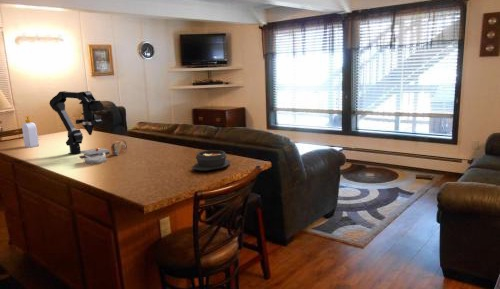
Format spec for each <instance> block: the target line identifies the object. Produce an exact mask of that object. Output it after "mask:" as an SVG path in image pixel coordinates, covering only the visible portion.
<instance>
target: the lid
mask: <svg viewBox="0 0 500 289" xmlns="http://www.w3.org/2000/svg"><path fill="white" fill-rule="evenodd" d="M102 152H110V150H109V148H102V147H97V148H94V149H93V148H91V149H85V150H81V153H80V154H83V155H84V154H87V155H91V154H96V153H102Z"/></svg>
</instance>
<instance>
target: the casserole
mask: <svg viewBox="0 0 500 289" xmlns="http://www.w3.org/2000/svg"><path fill="white" fill-rule="evenodd" d="M227 157H228V155H227V154H226V151H223V150H217V149H209V150H203V151H202V150H201V151H200V152H197V153H196V156H195V159H196V163H194V165H193V166H191V169H192V170H196V171H202V172H205V171H216V170H220V169H223V168H225V167H227V166H228V165H229V164H230V163H231V162H232V161H231V160H229V159H226V158H227Z"/></svg>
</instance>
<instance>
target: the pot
mask: <svg viewBox="0 0 500 289" xmlns="http://www.w3.org/2000/svg"><path fill="white" fill-rule="evenodd" d="M107 155H110V151H108V152H102V153H96V154H91V155H87V154H83V155H79V159H84V164H86V165H97V164H98V165H99V164H102V163H103V164H104V163H105V162H107V157H106V156H107Z"/></svg>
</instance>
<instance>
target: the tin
mask: <svg viewBox="0 0 500 289" xmlns="http://www.w3.org/2000/svg"><path fill="white" fill-rule="evenodd" d="M110 147H111V148H110V149H111V153H112V155H113V156H120V155H122V154H125V153H126V152H127V149H128V146H127V142H126V141H125V140H123V139H122V140H117V141H114V142H113V143H112V144H111V146H110Z"/></svg>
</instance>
